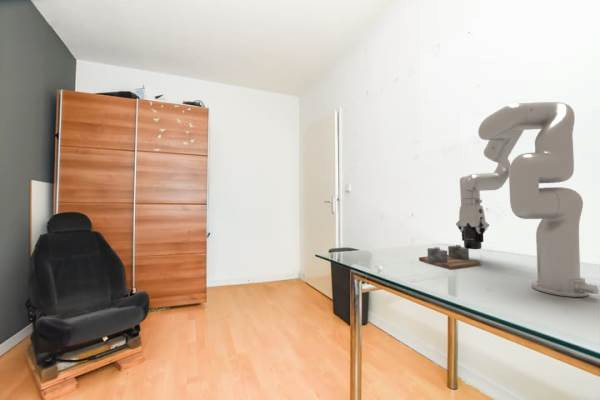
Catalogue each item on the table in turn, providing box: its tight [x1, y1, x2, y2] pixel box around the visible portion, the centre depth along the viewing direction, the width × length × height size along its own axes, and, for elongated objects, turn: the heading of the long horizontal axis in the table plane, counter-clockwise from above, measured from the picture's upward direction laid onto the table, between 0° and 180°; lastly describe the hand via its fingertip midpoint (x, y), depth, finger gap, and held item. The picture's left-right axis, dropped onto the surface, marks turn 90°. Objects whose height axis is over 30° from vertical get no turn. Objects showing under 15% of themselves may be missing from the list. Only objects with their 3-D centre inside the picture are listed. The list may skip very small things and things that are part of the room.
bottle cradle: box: [418, 244, 481, 270], centre depth 120 cm, size 18×16×8 cm
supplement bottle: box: [463, 223, 482, 250], centre depth 124 cm, size 7×7×12 cm
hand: (472, 241), depth 124 cm, fingers closed on supplement bottle, 6 cm apart
